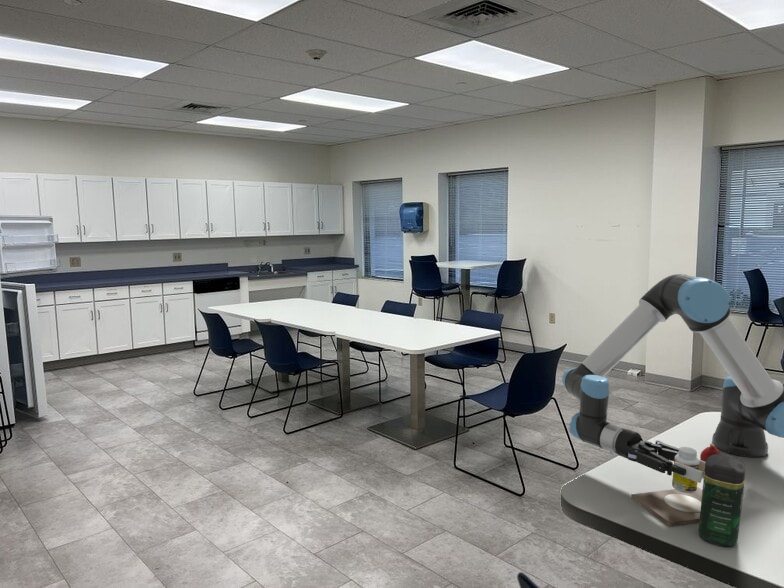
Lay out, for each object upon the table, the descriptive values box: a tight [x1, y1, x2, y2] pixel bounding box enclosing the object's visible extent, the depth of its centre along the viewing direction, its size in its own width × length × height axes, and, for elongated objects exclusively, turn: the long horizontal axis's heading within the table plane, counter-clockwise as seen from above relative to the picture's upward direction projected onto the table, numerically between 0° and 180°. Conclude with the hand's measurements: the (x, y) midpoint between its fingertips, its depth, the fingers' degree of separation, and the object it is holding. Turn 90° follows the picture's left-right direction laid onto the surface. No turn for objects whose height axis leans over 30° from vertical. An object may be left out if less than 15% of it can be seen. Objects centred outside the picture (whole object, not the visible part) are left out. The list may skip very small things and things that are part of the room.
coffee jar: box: [698, 453, 746, 547], centre depth 128 cm, size 10×8×19 cm
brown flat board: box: [630, 486, 703, 527], centre depth 143 cm, size 20×14×1 cm
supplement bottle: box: [671, 446, 700, 493], centre depth 141 cm, size 6×6×10 cm
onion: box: [699, 443, 723, 462], centre depth 163 cm, size 6×6×8 cm
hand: (707, 474), depth 137 cm, fingers closed on supplement bottle, 6 cm apart
